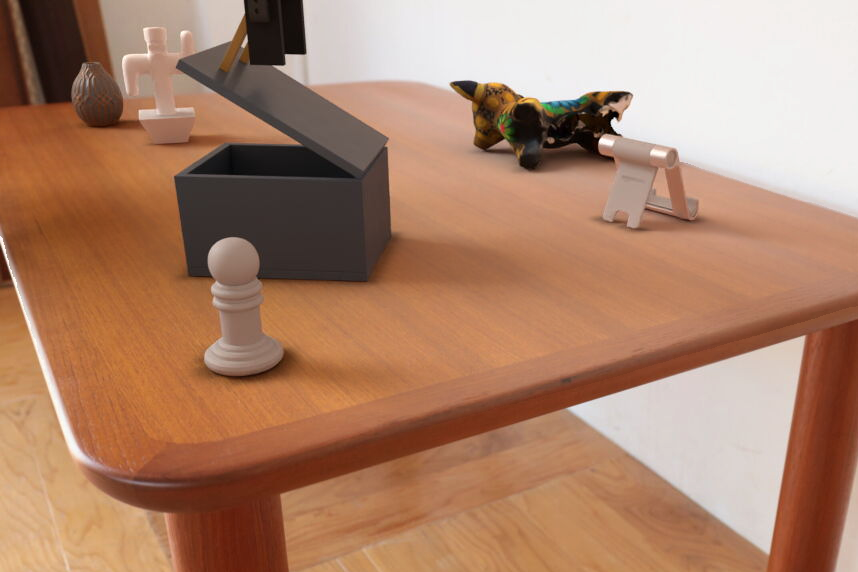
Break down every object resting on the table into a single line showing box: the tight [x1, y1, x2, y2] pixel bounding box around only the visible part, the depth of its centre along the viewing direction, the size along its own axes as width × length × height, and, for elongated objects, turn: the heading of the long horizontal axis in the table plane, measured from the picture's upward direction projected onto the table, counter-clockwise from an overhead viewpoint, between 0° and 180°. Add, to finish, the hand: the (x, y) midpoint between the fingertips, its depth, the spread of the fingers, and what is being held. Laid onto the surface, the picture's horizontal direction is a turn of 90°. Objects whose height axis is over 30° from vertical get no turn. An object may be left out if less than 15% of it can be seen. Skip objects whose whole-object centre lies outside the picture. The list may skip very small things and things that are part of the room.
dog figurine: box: [449, 79, 634, 170], centre depth 119 cm, size 20×12×18 cm
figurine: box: [121, 26, 196, 145], centre depth 122 cm, size 7×9×15 cm
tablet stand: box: [598, 134, 700, 230], centre depth 93 cm, size 9×8×8 cm
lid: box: [176, 13, 390, 179], centre depth 75 cm, size 16×13×9 cm
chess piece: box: [203, 237, 285, 377], centre depth 61 cm, size 5×5×9 cm
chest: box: [173, 142, 392, 282], centre depth 81 cm, size 16×13×9 cm
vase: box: [70, 61, 124, 127], centre depth 132 cm, size 7×7×9 cm
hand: (279, 58), depth 75 cm, fingers closed on lid, 6 cm apart
